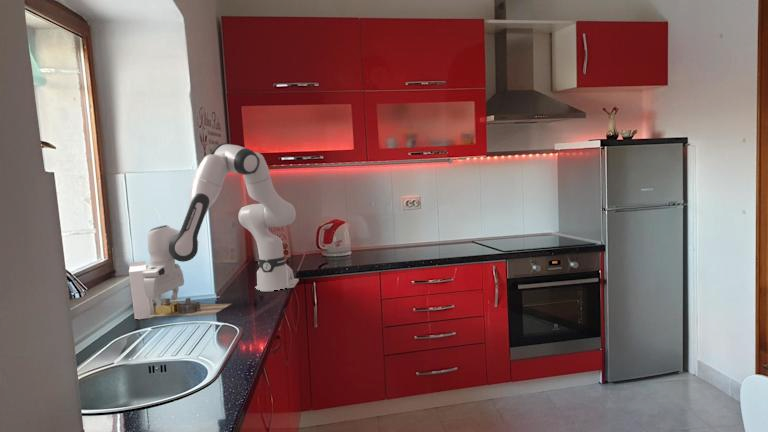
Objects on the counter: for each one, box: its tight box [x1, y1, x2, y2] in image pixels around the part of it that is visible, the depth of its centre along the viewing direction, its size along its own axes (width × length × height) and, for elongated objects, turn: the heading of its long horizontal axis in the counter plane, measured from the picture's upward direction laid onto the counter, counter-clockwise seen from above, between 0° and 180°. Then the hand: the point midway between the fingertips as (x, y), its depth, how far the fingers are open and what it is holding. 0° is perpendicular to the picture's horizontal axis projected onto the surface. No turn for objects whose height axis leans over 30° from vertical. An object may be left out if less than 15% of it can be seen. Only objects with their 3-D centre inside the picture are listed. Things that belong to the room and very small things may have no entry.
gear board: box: [147, 297, 232, 319], centre depth 201 cm, size 15×27×6 cm, turn 79°
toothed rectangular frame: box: [154, 301, 182, 314], centre depth 200 cm, size 6×8×3 cm
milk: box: [128, 260, 155, 320], centre depth 201 cm, size 6×6×22 cm
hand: (167, 302), depth 200 cm, fingers open, 8 cm apart
